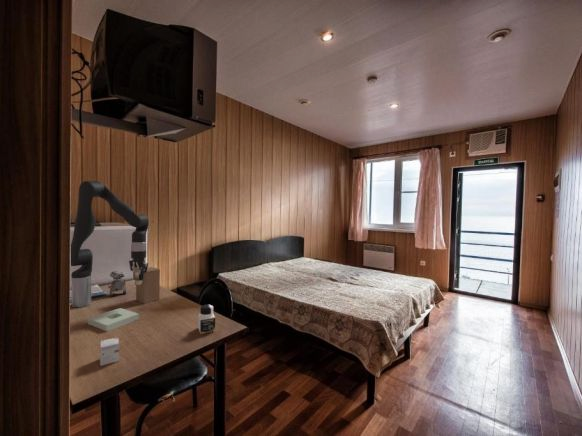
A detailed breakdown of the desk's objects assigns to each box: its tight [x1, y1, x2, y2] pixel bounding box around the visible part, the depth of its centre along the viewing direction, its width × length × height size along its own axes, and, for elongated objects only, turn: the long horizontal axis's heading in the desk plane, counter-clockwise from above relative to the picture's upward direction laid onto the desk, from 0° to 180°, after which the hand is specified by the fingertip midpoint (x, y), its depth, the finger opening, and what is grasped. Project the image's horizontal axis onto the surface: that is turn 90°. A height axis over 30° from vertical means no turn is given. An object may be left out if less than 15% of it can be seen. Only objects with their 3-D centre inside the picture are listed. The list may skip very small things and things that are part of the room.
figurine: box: [107, 270, 127, 297], centre depth 179 cm, size 9×12×15 cm
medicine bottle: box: [197, 304, 216, 335], centre depth 133 cm, size 7×7×12 cm
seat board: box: [87, 307, 140, 332], centre depth 138 cm, size 16×16×3 cm
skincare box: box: [99, 336, 120, 367], centre depth 105 cm, size 6×6×7 cm
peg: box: [133, 267, 142, 286], centre depth 152 cm, size 4×4×10 cm
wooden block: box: [135, 266, 161, 305], centre depth 170 cm, size 10×10×20 cm
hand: (138, 279), depth 152 cm, fingers closed on peg, 4 cm apart
